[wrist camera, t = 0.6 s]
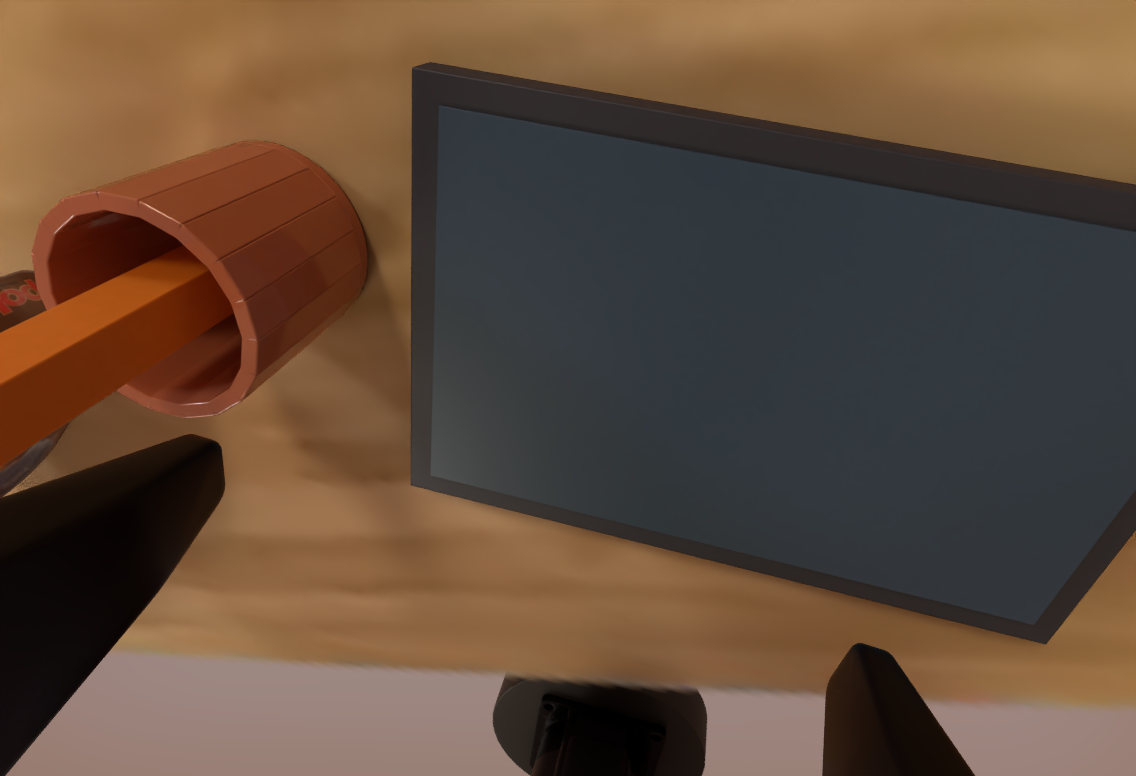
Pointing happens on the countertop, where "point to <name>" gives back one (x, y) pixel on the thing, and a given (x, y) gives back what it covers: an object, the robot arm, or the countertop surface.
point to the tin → (3, 308)
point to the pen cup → (217, 262)
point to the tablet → (775, 345)
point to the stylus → (100, 344)
